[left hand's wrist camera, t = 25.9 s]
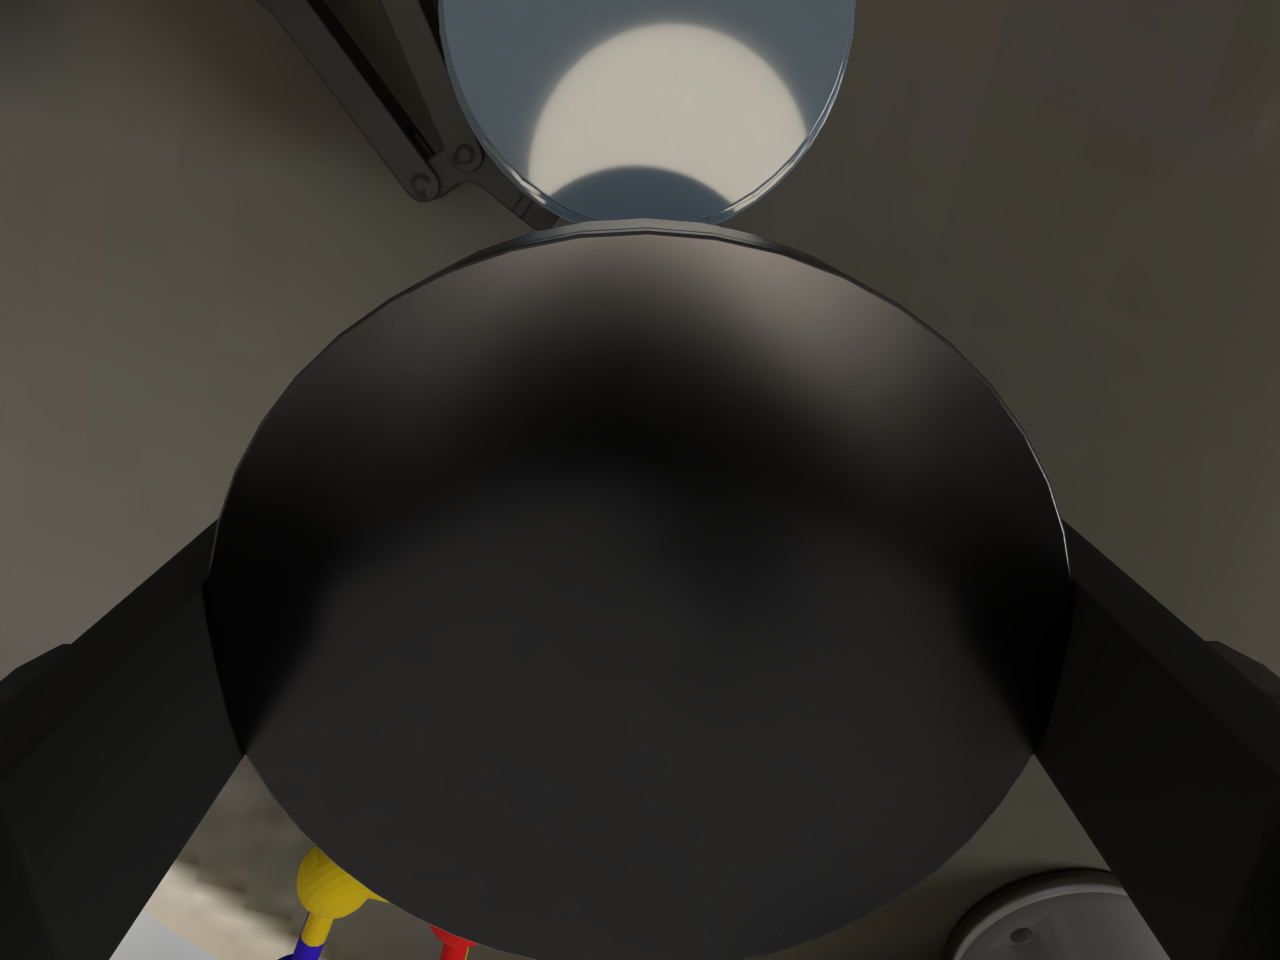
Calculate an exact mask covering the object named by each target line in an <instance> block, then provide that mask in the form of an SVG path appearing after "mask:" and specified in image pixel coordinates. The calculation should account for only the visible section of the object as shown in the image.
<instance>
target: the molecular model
mask: <svg viewBox="0 0 1280 960" xmlns="http://www.w3.org/2000/svg"><path fill="white" fill-rule="evenodd" d="M297 893H298V897H299V899H300V902H301V904H302V905H303V906H304V907H305V908H306V909H307V910H308V911H309V913H308V915H307V918H306V921H305V924H304V926H303V929H302V932H301V934H300V937H299V940H298V942H297V945H296V948H295V951H294V953H293V954H291V955H287V956H284V957H282V958H280V959H278V960H318V958H319V956H320V953H321V950H322V948H323V945H324V943H325V940H326V938H327V935H328V932H329V930H330V927H331V925H332V922H333V920H334V918H341V917H344V916H346V915H348V914H350V913H352V912H354V911H355V910H357V909H358V908H359V907H360V906H361V905H362V904H363V903H364V902H365V901H366V899H367V898H370V899H375V900H379V901H384V902H388V901H386V900H385V899H383V898H381V897H380V896H378V895H376V894H375V893H373V892H372V891H370V890H369V889H368V888H366V887H365V886H364V885H362V884H361V883H360V882H358V881H357V880H356V879H354V878H353V877H352V876H350V875H349V874H348V873H346V872H345V871H344V870H342V869H341V868H340V867H338V866H337V865H336V864H335V863H334V862H333V861H331V860H330V859H329V858H328V857H327V856H326V855H325V854H324V853H323V852H322V851H321V850H320V849H319V848H318V847H317V846H316V845H315V844H313V848H312V849H311V850H310V851H309V852H308V853H307V855H306V856H305V858H304V859H303V861H302V862H301V864H300V867H299V870H298V876H297ZM388 903H390V902H388ZM430 927H431V928H432V930H433V932H434V934H435V935H436V936H437V937H438V938H439V939H440V940H441V941H443V942H444V946H443V951H442V955H441V959H440V960H466V957H467V953H468V949H469V947H472V946H474V945H477V943H474V942H471V941H468V940H466V939H463V938H460V937H457V936H454V935H452V934H450V933H448V932H446V931H443V930H441V929H439V928H437V927H435V926H433V925H431V924H430Z"/></svg>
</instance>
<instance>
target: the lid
mask: <svg viewBox="0 0 1280 960" xmlns="http://www.w3.org/2000/svg"><path fill="white" fill-rule="evenodd" d="M1071 609H1072V579H1071V572H1070V565H1069V558H1068V551H1067V543H1066V536H1065V530H1064V527H1063V524H1062V520H1061V517H1060V514H1059V511H1058V507H1057V504H1056V501H1055V498H1054V494H1053V491H1052V488H1051V485H1050V481H1049V479H1048V477H1047V475H1046V473H1045V471H1044V469H1043V467H1042V465H1041V463H1040V461H1039V459H1038V457H1037V455H1036V453H1035V451H1034V449H1033V447H1032V445H1031V443H1030V441H1029V439H1028V437H1027V435H1026V433H1025V431H1024V430H1023V428H1022V427H1021V425H1020V424H1019V423H1018V421H1017V420H1016V418H1015V417H1014V416H1013V414H1012V413H1011V411H1010V410H1009V408H1008V407H1007V406H1006V404H1005V403H1004V401H1003V400H1002V399H1001V397H1000V396H999V394H998V393H997V392H996V390H995V389H994V387H993V386H992V385H991V384H990V383H989V382H988V381H987V380H986V379H985V378H984V377H983V376H982V374H981V373H980V372H979V371H978V370H977V369H976V368H975V367H974V366H973V365H972V364H971V363H970V362H969V361H968V360H967V359H966V358H965V357H964V356H963V355H962V354H961V353H960V352H959V351H958V350H957V349H956V348H955V347H954V346H953V345H952V344H951V343H950V342H949V341H948V340H946V339H945V338H944V337H942V336H941V335H940V334H938V333H937V332H936V331H934V330H933V329H932V328H930V327H929V326H928V325H926V324H925V323H924V322H923V321H921V320H920V319H919V318H917V317H916V316H915V315H913V314H912V313H911V312H909V311H908V310H907V309H905V308H904V307H903V306H901V305H900V304H898V303H896V302H894V301H893V300H891V299H889V298H887V297H886V296H884V295H882V294H880V293H878V292H877V291H875V290H873V289H871V288H869V287H868V286H866V285H864V284H862V283H861V282H859V281H857V280H855V279H853V278H852V277H850V276H848V275H846V274H844V273H842V272H841V271H839V270H837V269H835V268H833V267H831V266H830V265H828V264H826V263H824V262H822V261H821V260H819V259H817V258H815V257H813V256H811V255H809V254H806V253H804V252H801V251H798V250H796V249H793V248H790V247H788V246H785V245H782V244H780V243H777V242H774V241H772V240H769V239H766V238H764V237H761V236H758V235H754V234H750V233H745V232H741V231H736V230H732V229H727V228H723V227H718V226H714V225H709V224H705V223H696V222H684V221H672V220H660V219H648V218H643V219H625V220H606V221H588V222H583V223H578V224H573V225H568V226H563V227H558V228H552V229H547V230H542V231H537V232H532V233H529V234H526V235H523V236H520V237H518V238H515V239H512V240H509V241H506V242H503V243H500V244H497V245H494V246H491V247H489V248H486V249H483V250H480V251H478V252H476V253H474V254H472V255H470V256H468V257H466V258H464V259H462V260H460V261H458V262H456V263H454V264H452V265H450V266H448V267H446V268H444V269H443V270H441V271H439V272H437V273H435V274H433V275H431V276H429V277H427V278H425V279H424V280H422V281H420V282H418V283H417V284H415V285H413V286H411V287H409V288H408V289H406V290H404V291H402V292H401V293H399V294H397V295H395V296H394V297H392V298H390V299H389V300H387V301H386V302H384V303H383V304H382V305H380V306H379V307H377V308H376V309H374V310H373V311H372V312H370V313H369V314H367V315H366V316H365V317H363V318H362V319H360V320H359V321H358V322H356V323H355V324H353V325H352V326H351V327H349V328H348V329H346V330H345V331H344V332H342V333H341V334H339V335H338V336H337V337H336V338H335V339H334V340H333V341H332V342H331V343H330V344H329V345H328V346H327V347H326V348H325V349H324V350H323V351H322V352H321V353H320V354H318V355H317V356H316V357H315V358H314V359H313V360H312V361H311V362H310V363H309V364H308V365H307V366H306V367H305V368H304V369H303V370H302V371H301V372H300V373H299V374H298V375H297V376H296V377H295V378H294V379H293V381H292V382H291V383H290V385H289V386H288V387H287V389H286V390H285V391H284V392H283V394H282V395H281V396H280V398H279V399H278V400H277V402H276V403H275V404H274V406H273V407H272V408H271V410H270V411H269V412H268V414H267V415H266V416H265V418H264V419H263V420H262V421H261V423H260V425H259V427H258V429H257V430H256V432H255V434H254V436H253V438H252V440H251V442H250V443H249V445H248V447H247V449H246V451H245V453H244V455H243V457H242V458H241V460H240V462H239V464H238V466H237V468H236V470H235V472H234V475H233V478H232V480H231V483H230V486H229V489H228V492H227V495H226V498H225V501H224V504H223V507H222V509H221V512H220V515H219V518H218V521H217V527H216V533H215V538H214V544H213V550H212V556H211V561H210V567H209V579H208V626H209V633H210V640H211V646H212V651H213V656H214V660H215V665H216V670H217V674H218V678H219V682H220V686H221V690H222V694H223V698H224V702H225V706H226V710H227V713H228V716H229V718H230V720H231V723H232V725H233V727H234V729H235V731H236V733H237V736H238V738H239V740H240V742H241V744H242V746H243V749H244V751H245V753H246V755H247V757H248V759H249V761H250V762H251V764H252V765H253V767H254V769H255V770H256V772H257V773H258V775H259V776H260V778H261V780H262V781H263V783H264V784H265V786H266V787H267V789H268V791H269V792H270V794H271V795H272V797H273V798H274V799H275V801H276V802H277V803H278V804H279V805H280V807H281V808H282V809H283V810H284V811H285V813H286V814H287V815H288V816H289V817H290V819H291V820H292V821H293V822H294V823H295V825H296V826H297V827H298V828H299V830H300V831H301V832H302V833H303V834H304V835H305V836H306V837H307V838H308V839H309V840H310V841H311V842H312V843H313V844H315V845H316V846H317V847H318V848H319V849H320V850H321V851H322V852H323V853H324V854H325V855H326V856H327V857H328V858H329V859H330V860H331V861H333V862H334V863H335V864H336V865H337V866H338V867H340V868H341V869H342V870H344V871H345V872H346V873H348V874H349V875H350V876H352V877H353V878H354V879H356V880H357V881H358V882H360V883H361V884H362V885H364V886H365V887H366V888H368V889H369V890H370V891H372V892H373V893H375V894H376V895H378V896H380V897H381V898H383V899H385V900H386V901H388V902H390V903H391V904H393V905H395V906H396V907H398V908H400V909H401V910H403V911H405V912H406V913H408V914H410V915H411V916H413V917H415V918H418V919H420V920H422V921H424V922H426V923H428V924H431V925H433V926H435V927H437V928H439V929H441V930H443V931H446V932H448V933H450V934H452V935H454V936H457V937H460V938H463V939H466V940H468V941H471V942H474V943H477V944H480V945H483V946H486V947H489V948H491V949H494V950H497V951H501V952H505V953H509V954H513V955H517V956H521V957H525V958H529V959H534V960H745V959H749V958H754V957H758V956H763V955H767V954H772V953H775V952H778V951H781V950H784V949H787V948H790V947H793V946H796V945H799V944H802V943H805V942H808V941H811V940H815V939H817V938H820V937H822V936H824V935H826V934H829V933H831V932H833V931H836V930H838V929H840V928H842V927H845V926H847V925H849V924H851V923H854V922H856V921H858V920H860V919H862V918H864V917H865V916H867V915H869V914H871V913H872V912H874V911H876V910H878V909H879V908H881V907H883V906H885V905H886V904H888V903H890V902H892V901H894V900H895V899H897V898H899V897H900V896H902V895H903V894H904V893H906V892H907V891H909V890H910V889H911V888H913V887H914V886H916V885H917V884H918V883H920V882H921V881H923V880H924V879H925V878H927V877H928V876H929V875H931V874H932V873H934V872H935V871H936V870H938V869H939V868H940V867H941V866H942V865H943V864H944V863H945V862H946V861H948V860H949V859H950V858H951V857H952V856H953V855H954V854H955V853H956V852H957V851H959V850H960V849H961V848H962V847H963V846H964V845H965V844H966V843H967V842H969V841H970V840H971V839H972V838H973V836H974V835H975V834H976V833H977V832H978V831H979V830H980V828H981V827H982V826H983V825H984V824H985V823H986V821H987V820H988V819H989V818H990V817H991V816H992V815H993V813H994V812H995V811H996V810H997V809H998V808H999V807H1000V805H1001V804H1002V803H1003V801H1004V800H1005V798H1006V797H1007V795H1008V794H1009V792H1010V791H1011V789H1012V788H1013V786H1014V785H1015V783H1016V782H1017V780H1018V779H1019V777H1020V776H1021V774H1022V773H1023V772H1024V770H1025V769H1026V767H1027V766H1028V763H1029V761H1030V759H1031V757H1032V755H1033V753H1034V751H1035V749H1036V747H1037V745H1038V743H1039V741H1040V739H1041V737H1042V735H1043V733H1044V731H1045V729H1046V727H1047V725H1048V723H1049V720H1050V717H1051V713H1052V710H1053V706H1054V702H1055V698H1056V695H1057V691H1058V687H1059V682H1060V678H1061V674H1062V670H1063V665H1064V661H1065V656H1066V652H1067V647H1068V642H1069V638H1070V633H1071Z"/></svg>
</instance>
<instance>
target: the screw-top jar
mask: <svg viewBox="0 0 1280 960" xmlns="http://www.w3.org/2000/svg"><path fill="white" fill-rule="evenodd" d="M855 7H856V0H438V17H439V29H440V30H439V33H440V37H441V44H442V49H443V54H444V58H445V63H446V68H447V72H448V75H449V78H450V81H451V84H452V87H453V90H454V93H455V96H456V99H457V101H458V103H459V105H460V108H461V110H462V112H463V114H464V116H465V118H466V120H467V122H468V125H469V127H470V128H471V130H472V131H473V133H474V135H475V136H476V138H477V139H478V141H479V143H480V144H481V146H482V147H483V149H484V151H485V152H486V153H487V154H488V156H489V157H490V158H491V159H492V161H493V162H494V163H495V164H496V166H497V167H498V168H499V169H500V171H501V172H502V173H503V174H504V175H505V176H506V177H507V178H508V179H509V180H510V181H511V182H512V183H513V184H514V185H515V186H516V187H517V188H519V189H520V190H521V191H522V192H523V193H524V194H526V195H527V196H528V197H530V198H531V199H532V200H534V201H535V202H536V203H538V204H539V205H540V206H542V207H543V208H545V209H547V210H548V211H550V212H552V213H554V214H555V215H557V216H559V217H561V218H562V219H564V220H566V221H569V222H571V223H574V224H578V223H583V222H588V221H606V220H625V219H643V218H648V219H660V220H672V221H684V222H696V223H705V224H709V225H717V224H719V223H721V222H723V221H726V220H728V219H730V218H732V217H734V216H736V215H737V214H739V213H741V212H742V211H744V210H746V209H747V208H749V207H751V206H752V205H754V204H755V203H757V202H758V201H759V200H760V199H762V198H763V197H764V196H765V195H767V194H768V193H769V192H770V191H772V190H773V189H774V188H775V187H777V186H778V184H779V183H780V182H781V181H782V180H783V179H784V178H785V177H786V176H787V175H788V174H789V173H790V172H791V171H792V170H793V169H794V168H795V167H796V166H797V164H798V163H799V162H800V160H801V159H802V158H803V156H804V155H805V154H806V152H807V151H808V150H809V149H810V147H811V146H812V144H813V143H814V141H815V139H816V138H817V136H818V134H819V133H820V131H821V129H822V128H823V126H824V124H825V122H826V121H827V118H828V116H829V114H830V112H831V110H832V107H833V105H834V103H835V101H836V98H837V96H838V94H839V91H840V87H841V84H842V81H843V78H844V75H845V71H846V68H847V65H848V60H849V55H850V50H851V44H852V39H853V33H854V20H855Z"/></svg>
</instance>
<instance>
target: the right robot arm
mask: <svg viewBox="0 0 1280 960" xmlns="http://www.w3.org/2000/svg"><path fill="white" fill-rule="evenodd" d="M255 1H256V2H258V3H259V4H260V5H262V6H263V7H264V8H266V9H267V10H269V11H270V12H271V13H272V14H273V15H274V17H275V18H276V19H277V21H278V22H279V23H280V25H281V26H282V27H283V29H284V30H285V31H286V33H287V34H288V35H289V37H290V38H291V39H292V41H293V42H294V43H295V45H296V46H297V47H298V49H299V50H300V51H301V52H302V54H303V55H304V56H305V58H306V59H307V60H308V62H309V63H310V64H311V66H312V67H313V68H314V70H315V71H316V72H317V74H318V75H319V76H320V78H321V79H322V80H323V82H324V83H325V84H326V86H327V87H328V88H329V90H330V91H331V92H332V94H333V95H334V96H335V98H336V99H337V100H338V102H339V103H340V104H341V106H342V107H343V108H344V110H345V111H346V112H347V114H348V115H349V116H350V118H351V119H352V120H353V122H354V123H355V124H356V126H357V127H358V128H359V130H360V131H361V132H362V134H363V135H364V136H365V138H366V139H367V140H368V141H369V143H370V144H371V145H372V147H373V148H374V149H375V151H376V152H377V153H378V155H379V156H380V157H381V159H382V160H383V161H384V163H385V164H386V165H387V167H388V168H389V169H390V171H391V172H392V173H393V175H394V176H395V177H396V179H397V180H398V181H399V183H400V184H401V185H402V187H403V188H404V189H405V191H406V192H407V193H408V195H409V196H411V197H412V198H413V199H414V200H416V201H419V202H428V201H431V200H435V199H438V198H441V197H443V196H445V195H447V194H448V193H449V192H450V191H452V190H453V189H455V188H456V187H458V186H459V185H461V184H462V183H464V182H473V183H475V184H477V185H479V186H480V187H482V188H483V189H484V190H485V191H487V192H488V193H489V194H490V195H492V196H493V197H494V198H495V199H497V200H498V201H499V202H500V203H502V204H503V205H504V206H505V207H507V208H508V209H509V210H511V211H512V212H513V213H514V214H515V215H516V216H518V217H519V218H520V219H521V220H523V221H524V222H525V223H526V224H528V225H529V226H530V227H531V228H533V229H536V230H539V231H542V230H547V229H551V228H552V226H553V225H554V224H555V222H556V221H557V220H558V218H559V216H557V215H555V214H554V213H552V212H550V211H548V210H547V209H545V208H543V207H542V206H540V205H539V204H538V203H536V202H535V201H534V200H532V199H531V198H530V197H528V196H527V195H526V194H524V193H523V192H522V191H521V190H520V189H519V188H517V187H516V186H515V185H514V184H513V183H512V182H511V181H510V180H509V179H508V178H507V177H506V176H505V175H504V174H503V173H502V172H501V171H500V169H499V168H498V167H497V166H496V164H495V163H494V162H493V161H492V159H491V158H490V157H489V156H488V154H487V153H486V152H485V151H484V149H483V147H482V146H481V144H480V143H479V141H478V139H477V138H476V136H475V135H474V133H473V131H472V130H471V128H470V127H469V125H468V122H467V120H466V118H465V116H464V114H463V112H462V110H461V108H460V105H459V103H458V101H457V99H456V96H455V93H454V90H453V87H452V84H451V81H450V78H449V75H448V72H447V68H446V63H445V58H444V54H443V49H442V44H441V37H440V33H439V30H440V29H439V19H438V17H437V14H436V12H435V9H434V7H433V5H432V2H431V0H380V3H381V5H382V7H383V10H384V12H385V14H386V16H387V19H388V21H389V23H390V26H391V28H392V30H393V33H394V35H395V37H396V39H397V42H398V44H399V46H400V49H401V51H402V53H403V55H404V58H405V60H406V62H407V65H408V67H409V69H410V71H411V74H412V76H413V78H414V81H415V83H416V85H417V87H418V90H419V92H420V94H421V97H422V99H423V101H424V104H425V106H426V108H427V110H428V113H429V115H430V117H431V120H432V122H433V124H434V126H435V129H436V131H437V133H438V136H439V138H440V140H441V142H442V145H443V147H444V149H442V150H441V151H439V152H438V153H436V154H435V152H434V151H433V149H432V148H431V147H430V145H429V144H428V143H427V141H426V140H425V138H424V137H423V136H422V134H421V133H420V132H419V130H418V129H417V127H416V126H415V125H414V123H413V122H412V121H411V119H410V118H409V116H408V115H407V114H406V112H405V111H404V110H403V108H402V107H401V105H400V104H399V103H398V101H397V100H396V99H395V97H394V96H393V94H392V93H391V92H390V90H389V89H388V87H387V86H386V85H385V83H384V82H383V81H382V79H381V78H380V76H379V75H378V74H377V72H376V71H375V70H374V68H373V67H372V65H371V64H370V63H369V61H368V60H367V59H366V57H365V56H364V54H363V53H362V52H361V50H360V49H359V48H358V46H357V45H356V43H355V42H354V41H353V39H352V38H351V37H350V35H349V34H348V32H347V31H346V30H345V28H344V27H343V26H342V24H341V23H340V21H339V20H338V19H337V17H336V16H335V15H334V13H333V12H332V11H331V9H330V8H329V7H328V6H327V5H326V3H325V2H324V1H323V0H255ZM573 224H574V223H573Z"/></svg>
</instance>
